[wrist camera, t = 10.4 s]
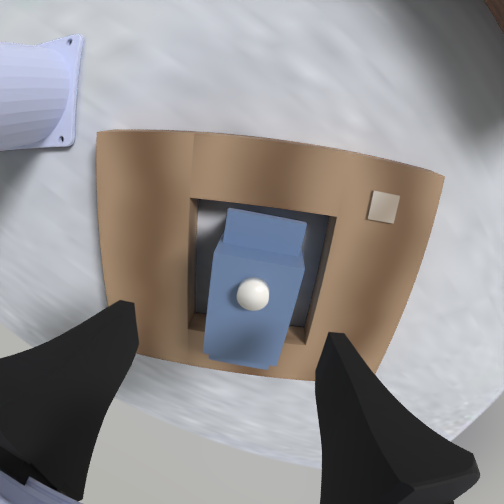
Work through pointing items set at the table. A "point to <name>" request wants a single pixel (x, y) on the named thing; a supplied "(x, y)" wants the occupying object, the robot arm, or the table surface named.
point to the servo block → (253, 288)
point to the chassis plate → (270, 195)
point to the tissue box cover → (497, 11)
